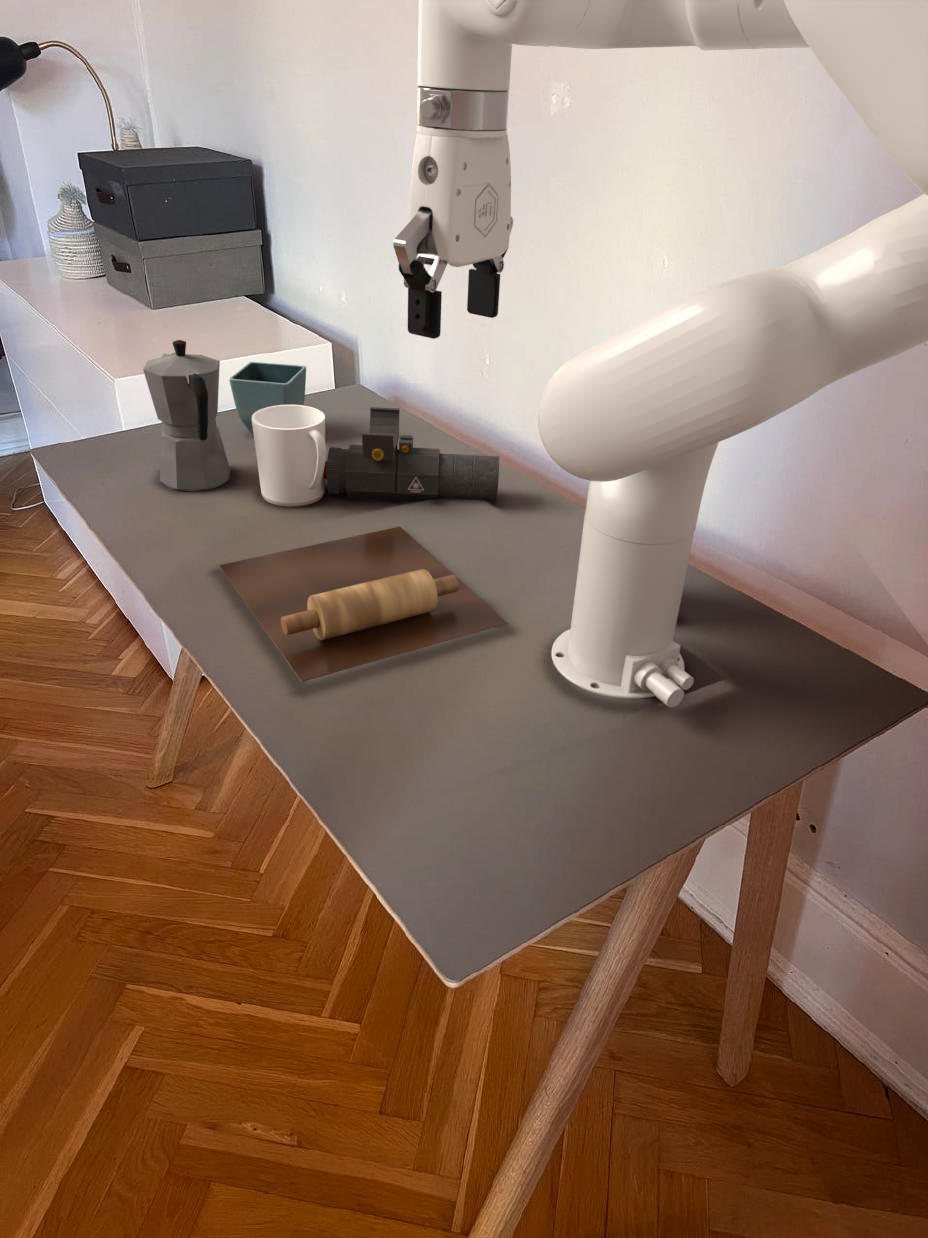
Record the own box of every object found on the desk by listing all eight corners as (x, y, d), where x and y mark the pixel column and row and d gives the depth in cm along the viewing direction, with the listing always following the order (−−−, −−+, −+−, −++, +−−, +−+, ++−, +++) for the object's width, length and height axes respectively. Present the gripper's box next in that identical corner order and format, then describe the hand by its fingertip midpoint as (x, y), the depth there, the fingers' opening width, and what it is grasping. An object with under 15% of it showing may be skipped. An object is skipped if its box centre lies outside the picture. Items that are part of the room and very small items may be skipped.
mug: (243, 492, 117) (236, 415, 112) (299, 474, 123) (294, 399, 117) (297, 520, 111) (292, 440, 105) (353, 499, 117) (351, 422, 111)
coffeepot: (147, 465, 123) (127, 330, 113) (216, 454, 127) (202, 323, 118) (177, 510, 112) (157, 364, 102) (251, 497, 116) (239, 356, 106)
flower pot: (233, 439, 132) (227, 378, 128) (255, 418, 140) (250, 360, 135) (291, 445, 131) (287, 383, 127) (310, 424, 139) (307, 365, 134)
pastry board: (507, 631, 92) (508, 622, 91) (301, 690, 82) (301, 681, 81) (399, 533, 109) (400, 526, 109) (219, 572, 99) (218, 564, 99)
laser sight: (496, 516, 114) (501, 440, 109) (317, 508, 114) (313, 431, 109) (496, 484, 122) (500, 413, 117) (329, 477, 122) (326, 404, 117)
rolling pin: (464, 611, 93) (466, 573, 90) (293, 657, 85) (291, 617, 82) (443, 592, 96) (445, 555, 94) (277, 634, 88) (273, 595, 85)
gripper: (440, 121, 67) (434, 352, 77) (551, 115, 80) (534, 314, 89) (361, 113, 71) (364, 336, 80) (479, 108, 83) (470, 301, 92)
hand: (454, 324), depth 84 cm, fingers open, 9 cm apart
